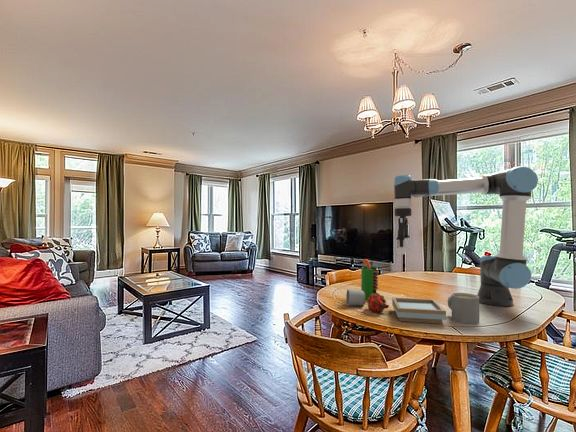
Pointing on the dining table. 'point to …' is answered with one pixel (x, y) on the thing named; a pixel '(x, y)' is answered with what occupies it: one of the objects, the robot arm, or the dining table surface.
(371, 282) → the green and brown toy
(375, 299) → the dragon fruit
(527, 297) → the dining table surface
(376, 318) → the dining table surface
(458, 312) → the coffee mug
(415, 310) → the picture frame
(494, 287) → the robot arm
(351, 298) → the ceramic mug
